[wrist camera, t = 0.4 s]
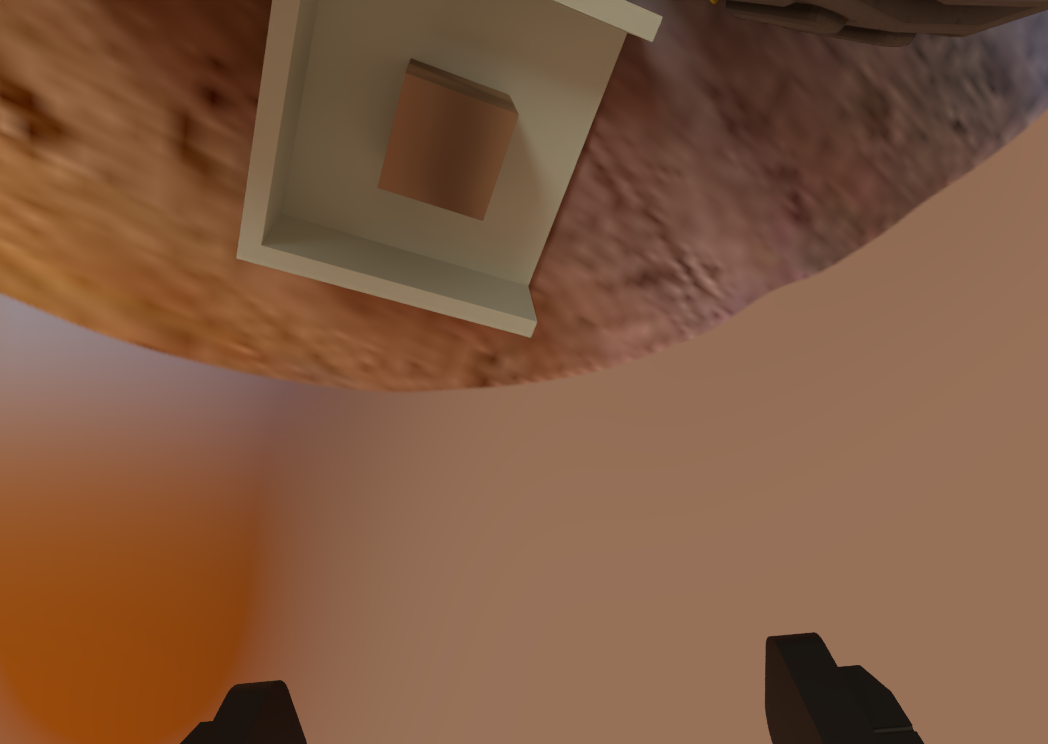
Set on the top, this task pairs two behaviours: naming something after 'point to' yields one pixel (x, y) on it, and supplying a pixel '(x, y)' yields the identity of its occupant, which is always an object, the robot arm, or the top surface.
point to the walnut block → (447, 140)
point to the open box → (364, 130)
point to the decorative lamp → (885, 17)
